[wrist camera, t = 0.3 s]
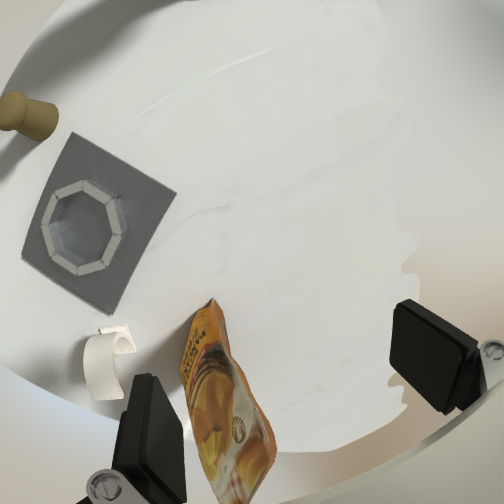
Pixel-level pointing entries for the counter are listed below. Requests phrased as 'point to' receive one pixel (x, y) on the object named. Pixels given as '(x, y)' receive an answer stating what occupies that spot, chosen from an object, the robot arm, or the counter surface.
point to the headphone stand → (106, 361)
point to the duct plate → (94, 222)
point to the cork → (27, 116)
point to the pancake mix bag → (224, 412)
